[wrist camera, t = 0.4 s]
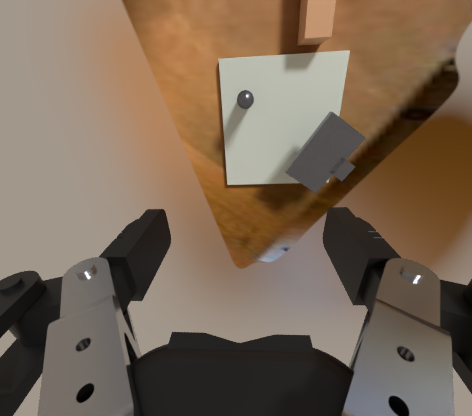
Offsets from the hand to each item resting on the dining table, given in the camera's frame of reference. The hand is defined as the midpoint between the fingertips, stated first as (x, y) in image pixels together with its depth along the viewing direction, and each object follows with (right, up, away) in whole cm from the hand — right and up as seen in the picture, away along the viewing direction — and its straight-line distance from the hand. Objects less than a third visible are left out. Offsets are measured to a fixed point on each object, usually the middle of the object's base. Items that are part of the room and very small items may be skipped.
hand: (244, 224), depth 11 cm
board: (+6, +13, +22) cm, 27 cm away
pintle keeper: (+8, +12, +23) cm, 27 cm away
